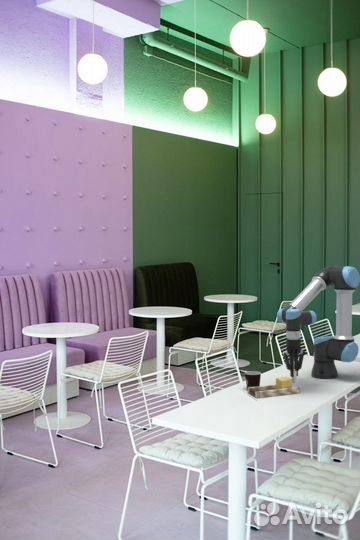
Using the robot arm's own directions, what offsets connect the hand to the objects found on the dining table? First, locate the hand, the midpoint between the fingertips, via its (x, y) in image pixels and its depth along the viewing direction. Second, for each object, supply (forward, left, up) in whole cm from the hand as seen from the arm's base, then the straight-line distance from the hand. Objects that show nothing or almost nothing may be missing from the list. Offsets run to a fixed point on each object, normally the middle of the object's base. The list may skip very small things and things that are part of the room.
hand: (294, 382), depth 328 cm
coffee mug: (+18, -14, -6) cm, 23 cm away
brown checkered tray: (+12, 0, -6) cm, 13 cm away
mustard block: (+6, 0, -4) cm, 7 cm away
